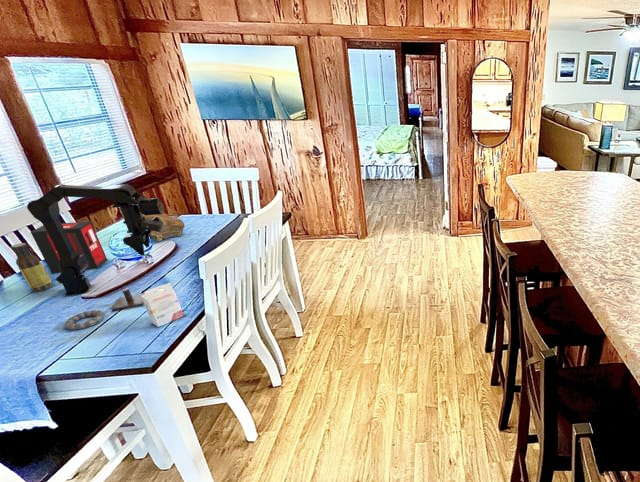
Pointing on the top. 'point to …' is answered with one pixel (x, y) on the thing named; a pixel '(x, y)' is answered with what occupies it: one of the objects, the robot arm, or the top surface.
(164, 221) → the rough brown rock
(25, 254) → the sauce bottle
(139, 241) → the robot arm
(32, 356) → the top surface
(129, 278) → the top surface
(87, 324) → the grey-brown segmented ring
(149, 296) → the ink cartridge box
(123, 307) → the tape stand
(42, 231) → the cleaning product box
